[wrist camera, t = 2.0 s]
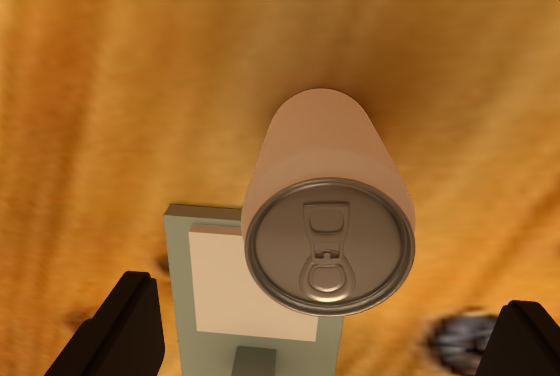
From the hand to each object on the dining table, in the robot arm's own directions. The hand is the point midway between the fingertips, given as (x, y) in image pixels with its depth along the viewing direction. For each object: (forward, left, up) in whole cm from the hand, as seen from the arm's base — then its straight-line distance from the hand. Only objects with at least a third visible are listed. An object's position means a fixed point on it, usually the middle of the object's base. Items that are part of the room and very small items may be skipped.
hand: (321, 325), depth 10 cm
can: (-1, 0, -15) cm, 15 cm away
